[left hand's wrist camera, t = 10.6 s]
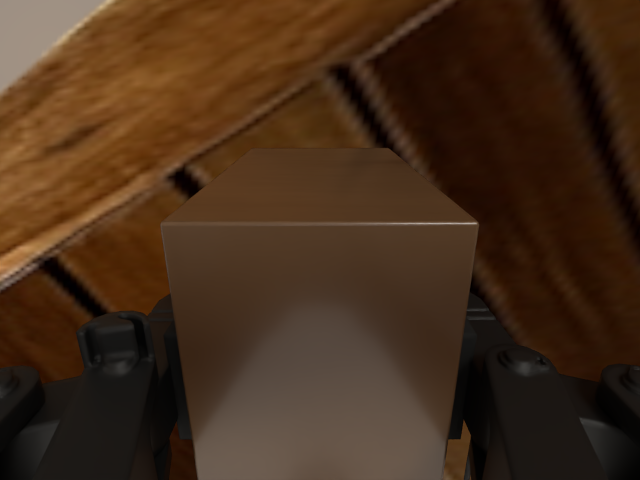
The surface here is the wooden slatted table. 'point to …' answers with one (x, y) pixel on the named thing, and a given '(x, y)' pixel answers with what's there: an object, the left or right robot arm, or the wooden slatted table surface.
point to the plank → (319, 316)
